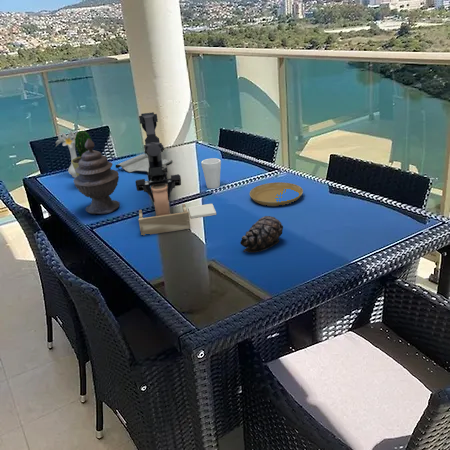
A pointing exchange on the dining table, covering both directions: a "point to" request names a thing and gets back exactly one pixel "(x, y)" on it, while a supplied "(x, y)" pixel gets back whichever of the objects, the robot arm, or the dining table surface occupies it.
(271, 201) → the plant saucer
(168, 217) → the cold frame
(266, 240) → the pine cone
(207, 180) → the foam cup
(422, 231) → the dining table surface
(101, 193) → the decorative urn
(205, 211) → the stone tile
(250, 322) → the dining table surface
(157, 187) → the terracotta pot
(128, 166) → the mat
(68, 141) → the flower vase
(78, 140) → the potted cactus
